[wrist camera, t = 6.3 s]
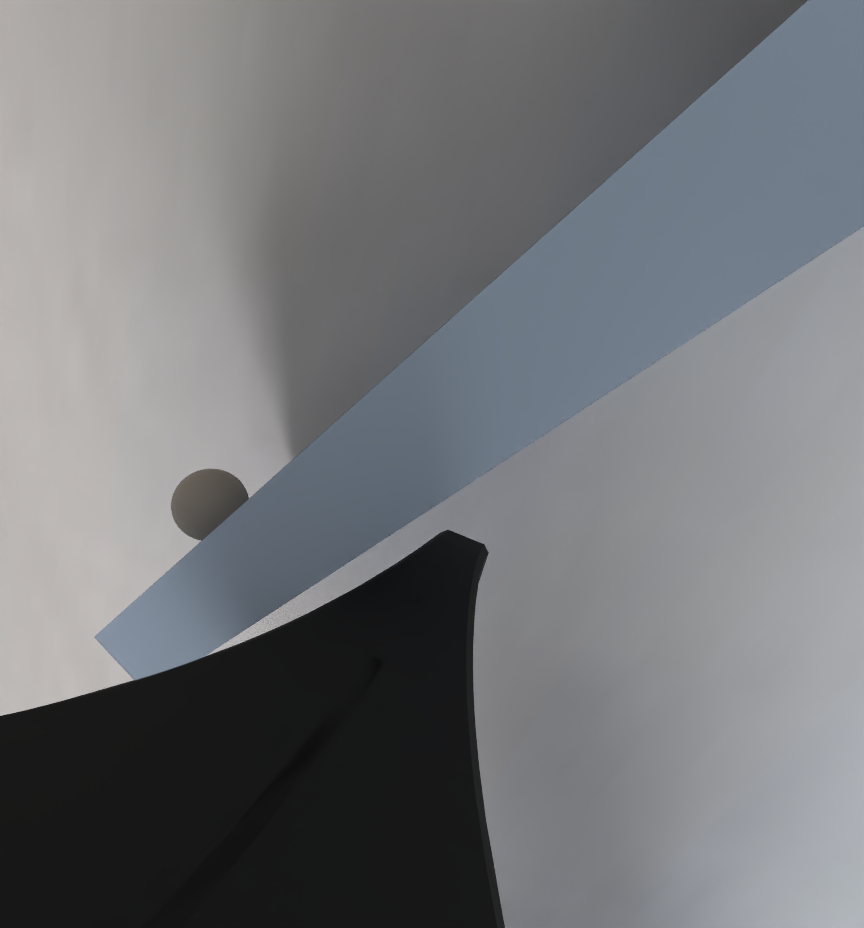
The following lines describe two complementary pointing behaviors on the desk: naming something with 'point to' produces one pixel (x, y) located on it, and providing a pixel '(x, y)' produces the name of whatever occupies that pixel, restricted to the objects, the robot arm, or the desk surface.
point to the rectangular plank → (540, 336)
